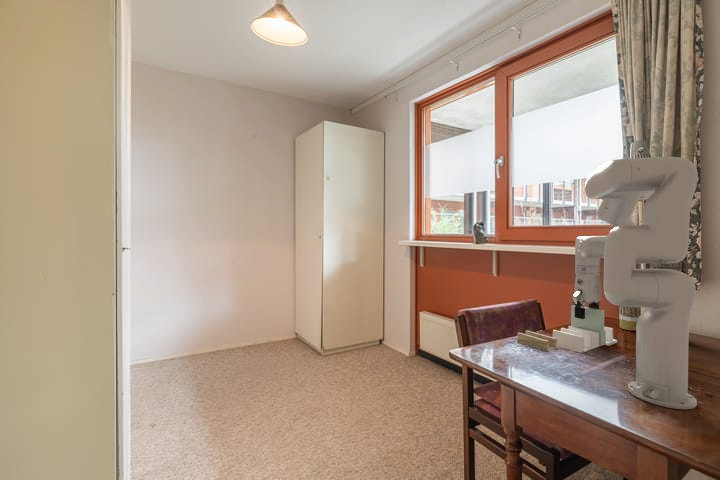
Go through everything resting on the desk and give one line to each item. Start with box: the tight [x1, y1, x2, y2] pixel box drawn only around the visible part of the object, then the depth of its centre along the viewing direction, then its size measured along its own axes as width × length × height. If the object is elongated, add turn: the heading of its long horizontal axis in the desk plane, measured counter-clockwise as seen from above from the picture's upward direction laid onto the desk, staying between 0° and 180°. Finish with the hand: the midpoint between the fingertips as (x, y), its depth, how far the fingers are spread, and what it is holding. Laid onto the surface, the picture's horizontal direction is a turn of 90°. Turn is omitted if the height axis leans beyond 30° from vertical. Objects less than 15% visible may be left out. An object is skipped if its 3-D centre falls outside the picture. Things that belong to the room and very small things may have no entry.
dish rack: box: [552, 325, 618, 354], centre depth 120 cm, size 25×11×6 cm, turn 120°
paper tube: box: [619, 306, 642, 332], centre depth 138 cm, size 7×7×25 cm
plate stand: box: [516, 330, 560, 352], centre depth 118 cm, size 7×12×4 cm, turn 30°
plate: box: [570, 304, 605, 346], centre depth 121 cm, size 2×10×12 cm, turn 30°
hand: (586, 316), depth 121 cm, fingers open, 9 cm apart
